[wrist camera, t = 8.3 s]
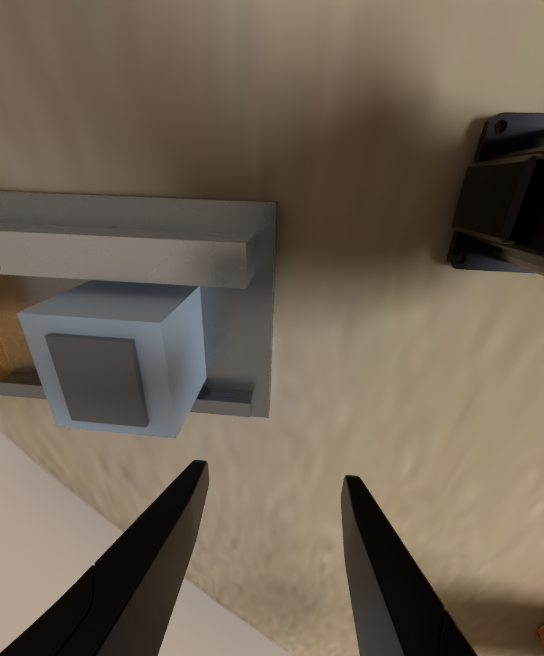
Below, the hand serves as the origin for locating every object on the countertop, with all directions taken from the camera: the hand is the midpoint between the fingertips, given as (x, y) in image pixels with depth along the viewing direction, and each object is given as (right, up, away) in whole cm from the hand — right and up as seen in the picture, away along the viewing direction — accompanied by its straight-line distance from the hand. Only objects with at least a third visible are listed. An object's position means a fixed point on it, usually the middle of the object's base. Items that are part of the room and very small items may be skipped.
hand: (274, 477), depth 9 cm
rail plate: (-10, +6, +9) cm, 15 cm away
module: (-7, +4, +9) cm, 12 cm away
